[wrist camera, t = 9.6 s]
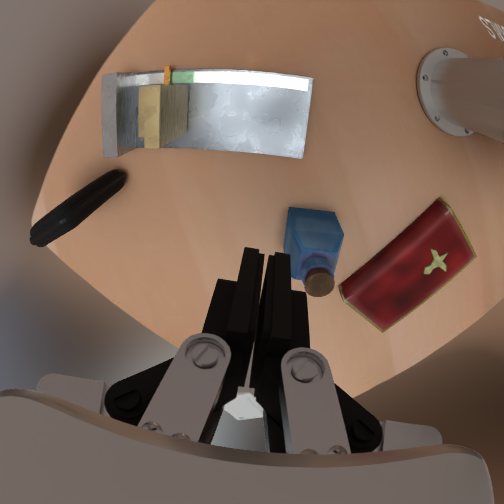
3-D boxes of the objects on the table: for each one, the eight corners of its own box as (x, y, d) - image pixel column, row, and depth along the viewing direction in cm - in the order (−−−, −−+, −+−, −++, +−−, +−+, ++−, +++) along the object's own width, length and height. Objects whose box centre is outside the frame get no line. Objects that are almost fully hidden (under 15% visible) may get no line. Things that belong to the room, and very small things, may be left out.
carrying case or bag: (85, 207, 39) (28, 259, 26) (76, 191, 37) (15, 239, 25) (134, 180, 36) (74, 231, 24) (124, 162, 35) (59, 205, 22)
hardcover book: (337, 283, 44) (342, 301, 40) (437, 195, 34) (451, 207, 31) (377, 317, 47) (382, 333, 44) (465, 243, 38) (477, 257, 34)
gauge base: (311, 78, 28) (320, 75, 23) (301, 156, 33) (307, 169, 28) (126, 74, 28) (102, 74, 23) (126, 146, 33) (103, 157, 28)
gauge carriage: (190, 65, 27) (161, 58, 19) (186, 133, 31) (159, 148, 24) (150, 67, 27) (113, 64, 19) (148, 132, 31) (113, 149, 24)
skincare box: (276, 343, 51) (275, 416, 38) (245, 350, 53) (237, 421, 40) (258, 314, 48) (251, 393, 34) (224, 323, 49) (209, 399, 36)
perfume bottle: (288, 207, 37) (294, 257, 27) (334, 212, 37) (355, 262, 27) (283, 247, 40) (285, 305, 30) (325, 251, 40) (340, 309, 30)
